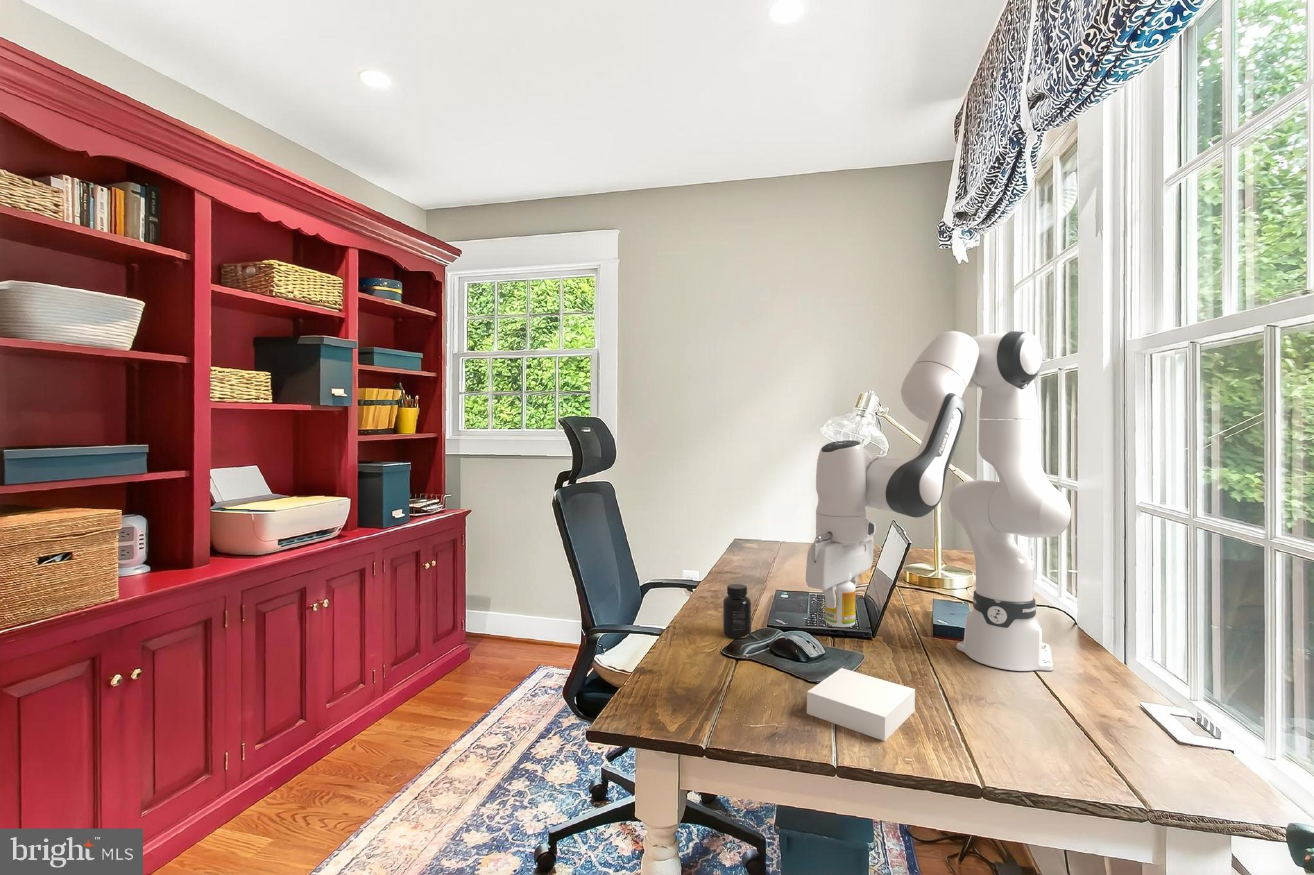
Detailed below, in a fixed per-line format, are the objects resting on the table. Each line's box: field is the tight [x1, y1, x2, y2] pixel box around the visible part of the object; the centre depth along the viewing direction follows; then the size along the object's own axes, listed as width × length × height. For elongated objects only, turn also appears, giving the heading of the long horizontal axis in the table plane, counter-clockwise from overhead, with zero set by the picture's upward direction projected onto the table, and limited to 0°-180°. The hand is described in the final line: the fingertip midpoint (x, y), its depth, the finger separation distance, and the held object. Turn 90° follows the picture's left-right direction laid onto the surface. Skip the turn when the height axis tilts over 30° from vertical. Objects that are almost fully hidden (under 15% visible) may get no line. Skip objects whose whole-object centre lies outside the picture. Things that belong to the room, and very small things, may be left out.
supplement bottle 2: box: [824, 572, 856, 628], centre depth 113 cm, size 5×5×10 cm
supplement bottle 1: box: [722, 583, 752, 640], centre depth 149 cm, size 7×7×12 cm
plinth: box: [806, 667, 916, 742], centre depth 109 cm, size 14×14×4 cm
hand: (840, 603), depth 113 cm, fingers closed on supplement bottle 2, 5 cm apart
